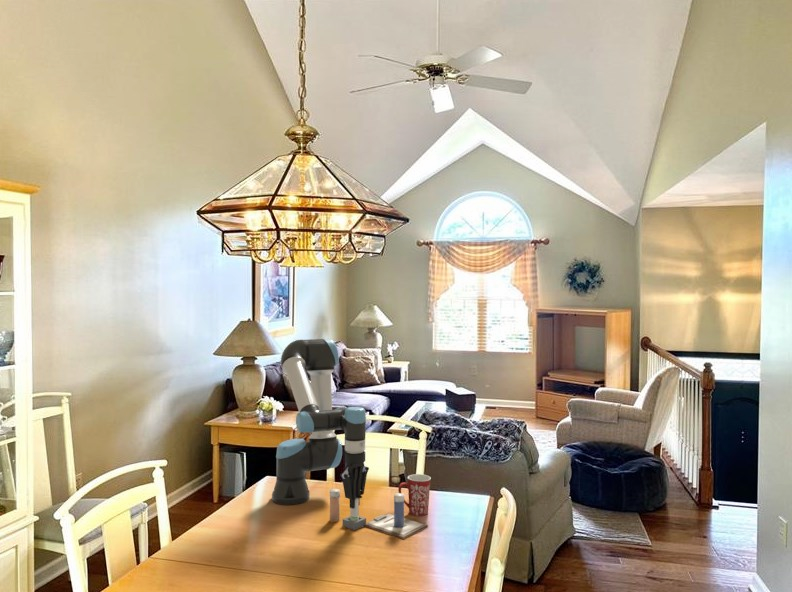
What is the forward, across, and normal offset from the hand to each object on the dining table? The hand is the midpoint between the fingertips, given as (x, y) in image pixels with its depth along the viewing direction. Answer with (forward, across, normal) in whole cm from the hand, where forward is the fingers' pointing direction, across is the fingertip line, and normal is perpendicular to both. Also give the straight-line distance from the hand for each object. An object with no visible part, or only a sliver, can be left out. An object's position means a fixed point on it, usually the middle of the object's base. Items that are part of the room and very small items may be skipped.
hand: (354, 516), depth 212 cm
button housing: (+3, 0, 0) cm, 3 cm away
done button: (+3, 0, 0) cm, 3 cm away
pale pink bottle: (+3, -1, +9) cm, 10 cm away
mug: (+4, +24, -9) cm, 26 cm away
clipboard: (+3, +9, -12) cm, 15 cm away
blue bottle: (+2, +8, -14) cm, 16 cm away
